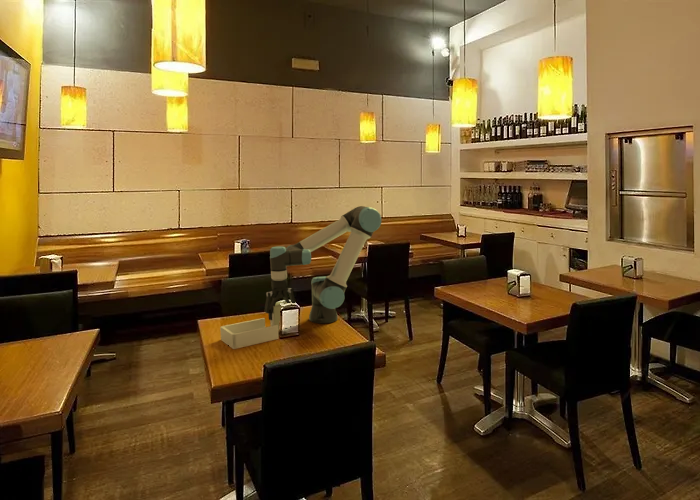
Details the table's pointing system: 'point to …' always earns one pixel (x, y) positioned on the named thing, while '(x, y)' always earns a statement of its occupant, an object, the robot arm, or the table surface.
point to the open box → (248, 333)
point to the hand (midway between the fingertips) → (281, 324)
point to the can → (277, 313)
